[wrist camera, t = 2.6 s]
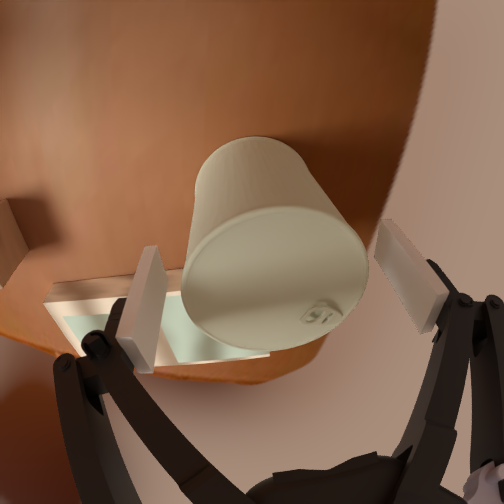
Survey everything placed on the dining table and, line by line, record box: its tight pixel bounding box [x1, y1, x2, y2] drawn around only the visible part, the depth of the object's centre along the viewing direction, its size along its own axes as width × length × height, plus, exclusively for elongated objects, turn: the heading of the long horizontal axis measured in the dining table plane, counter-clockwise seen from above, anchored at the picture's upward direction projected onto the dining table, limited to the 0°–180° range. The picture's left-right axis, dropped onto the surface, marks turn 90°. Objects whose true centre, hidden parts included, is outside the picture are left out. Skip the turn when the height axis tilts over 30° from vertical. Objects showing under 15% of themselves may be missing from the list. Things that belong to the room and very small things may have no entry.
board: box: [43, 268, 270, 366], centre depth 29 cm, size 22×11×3 cm, turn 95°
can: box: [181, 136, 369, 351], centre depth 18 cm, size 9×9×12 cm
